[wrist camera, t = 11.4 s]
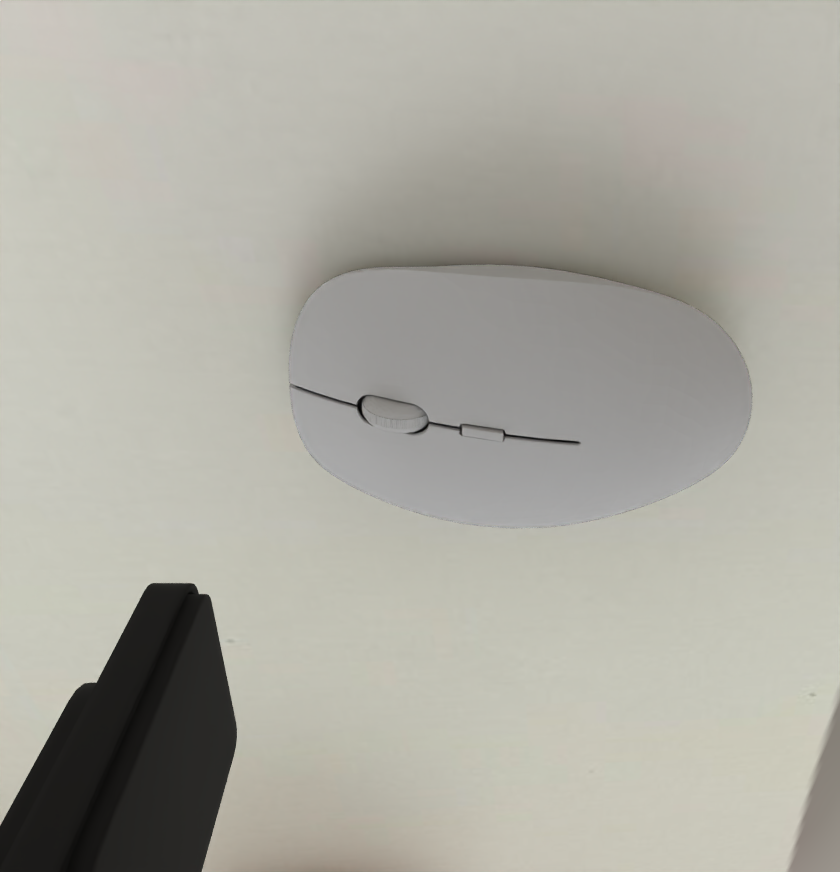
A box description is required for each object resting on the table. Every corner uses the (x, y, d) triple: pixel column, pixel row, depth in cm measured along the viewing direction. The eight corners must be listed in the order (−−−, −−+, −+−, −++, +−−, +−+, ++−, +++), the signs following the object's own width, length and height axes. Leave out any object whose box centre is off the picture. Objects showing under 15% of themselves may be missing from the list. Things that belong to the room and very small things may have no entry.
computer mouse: (290, 240, 15) (260, 285, 13) (751, 260, 15) (815, 310, 13) (302, 471, 18) (279, 547, 16) (688, 489, 18) (729, 566, 16)
